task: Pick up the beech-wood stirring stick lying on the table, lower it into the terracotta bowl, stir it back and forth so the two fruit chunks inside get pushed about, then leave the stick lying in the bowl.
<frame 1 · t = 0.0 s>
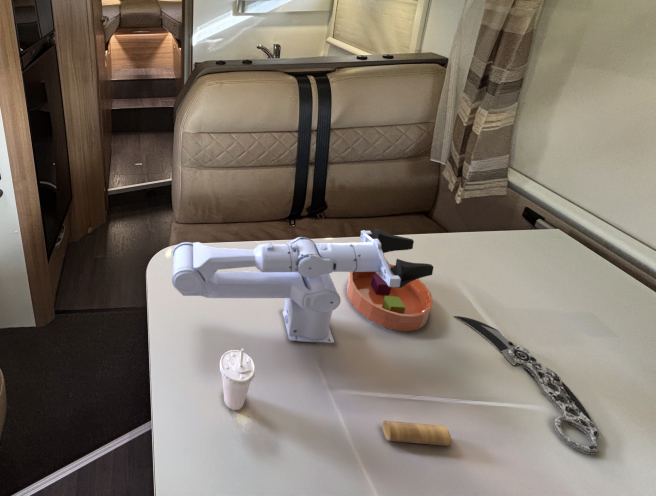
hand: (421, 256, 86), 22 cm above the table, tool horizontal, fingers open, 7 cm apart
stick: (414, 438, 75), on the table
chunk a: (379, 289, 106), point 1 cm above the table, touching bowl
bowl: (385, 302, 103), on the table
knife: (525, 376, 85), on the table
chunk b: (392, 311, 99), point 1 cm above the table, touching bowl
smoothie: (233, 400, 81), on the table
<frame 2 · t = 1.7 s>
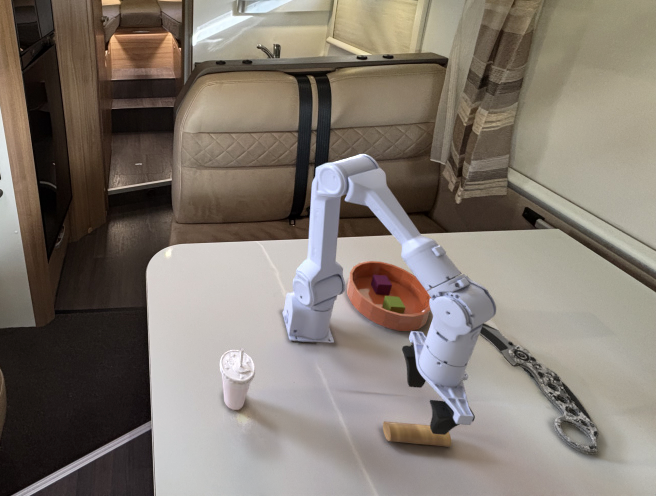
hand: (425, 407, 72), 8 cm above the table, tool pointing down, fingers open, 7 cm apart
nothing on the table moved.
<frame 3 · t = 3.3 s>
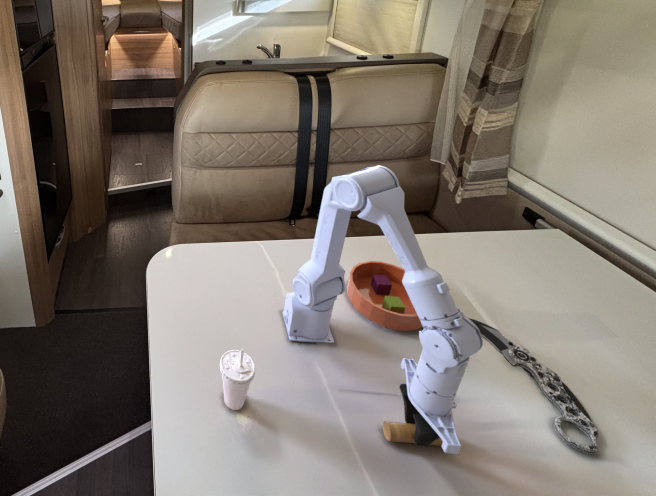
hand: (416, 433, 74), 1 cm above the table, tool pointing down, fingers closed on stick, 3 cm apart
stick: (414, 438, 75), on the table, touching gripper
everything else where it was.
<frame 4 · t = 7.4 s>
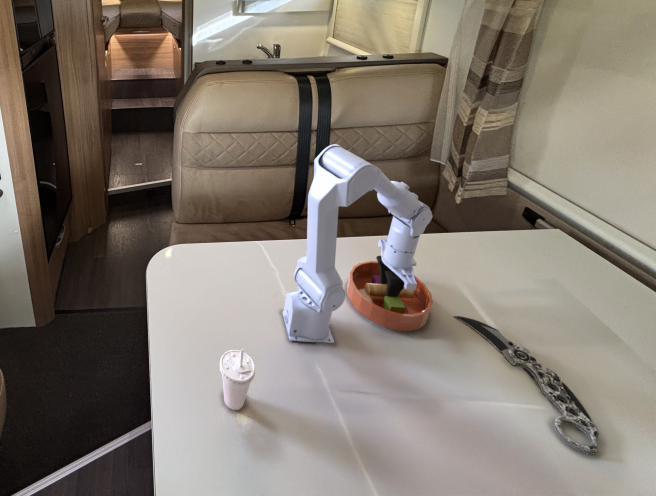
hand: (388, 290, 101), 4 cm above the table, tool pointing down, fingers closed on stick, 3 cm apart
stick: (387, 294, 102), point 2 cm above the table, touching gripper
chunk a: (379, 289, 106), point 1 cm above the table, touching bowl, gripper
chunk b: (392, 311, 99), point 1 cm above the table, touching bowl, gripper
everything else where it was.
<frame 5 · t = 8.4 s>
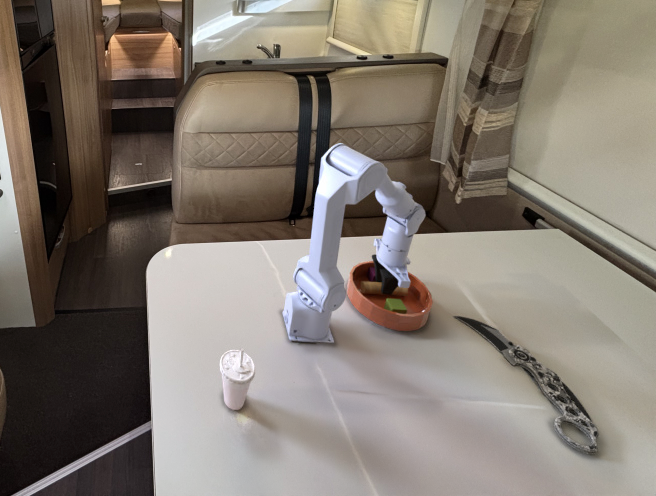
hand: (383, 288, 104), 2 cm above the table, tool pointing down, fingers closed on stick, 3 cm apart
stick: (382, 292, 104), point 1 cm above the table, touching gripper
chunk a: (375, 281, 108), point 1 cm above the table, touching gripper
chunk b: (393, 314, 99), point 1 cm above the table, touching bowl
everything else where it was.
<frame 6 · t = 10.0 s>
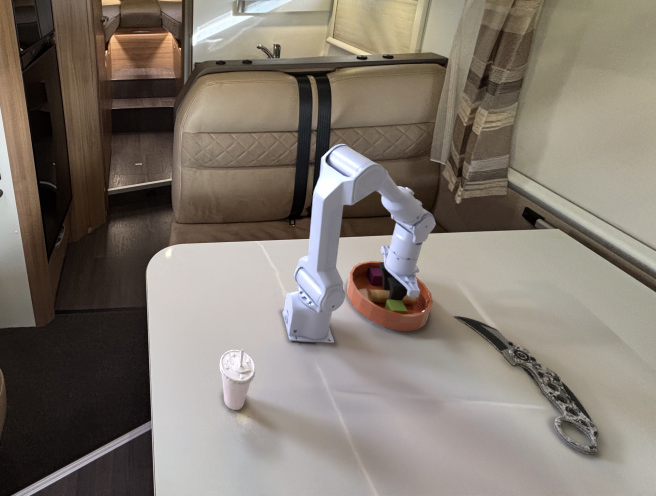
hand: (391, 296, 101), 2 cm above the table, tool pointing down, fingers closed on stick, 3 cm apart
stick: (390, 301, 102), point 1 cm above the table, touching gripper
chunk a: (375, 281, 108), point 1 cm above the table, touching bowl
chunk b: (394, 315, 98), point 1 cm above the table, touching bowl, gripper
everything else where it was.
when the fingers open (2 cm above the table, at t = 12.9 s): stick stays where it is, resting on bowl.
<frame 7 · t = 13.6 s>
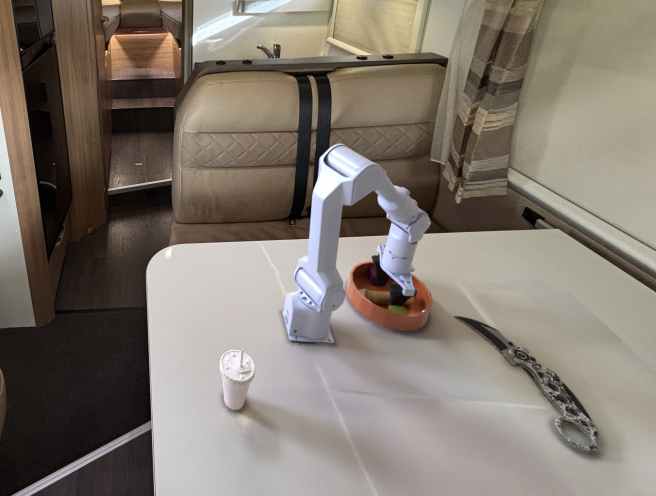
hand: (387, 295, 102), 2 cm above the table, tool pointing down, fingers open, 7 cm apart
stick: (386, 299, 102), point 1 cm above the table, tilted 30°, touching bowl
chunk b: (396, 321, 97), point 1 cm above the table, touching bowl, gripper
everything else where it was.
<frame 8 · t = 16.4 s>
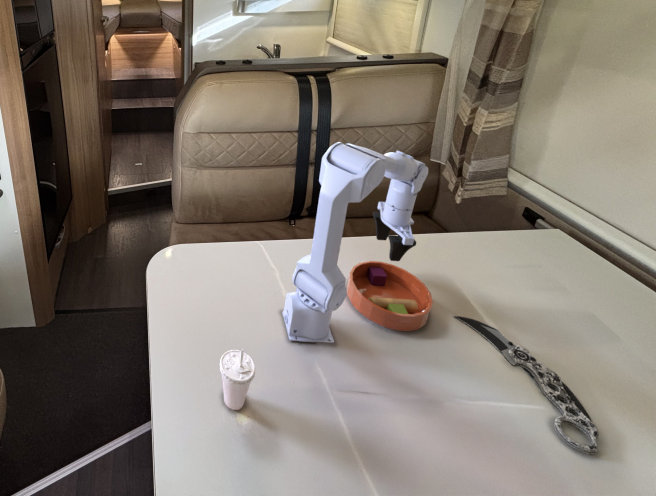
hand: (387, 249, 106), 9 cm above the table, tool pointing down, fingers open, 7 cm apart
stick: (390, 298, 100), point 3 cm above the table, tilted 114°, touching bowl
chunk b: (395, 319, 97), point 1 cm above the table, touching bowl
everything else where it was.
at the end: stick inside the target area in the bowl (1.4 cm from its centre), point 2.6 cm above the bowl's base; the gripper is holding nothing; chunk a moved 2.9 cm from its start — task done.
